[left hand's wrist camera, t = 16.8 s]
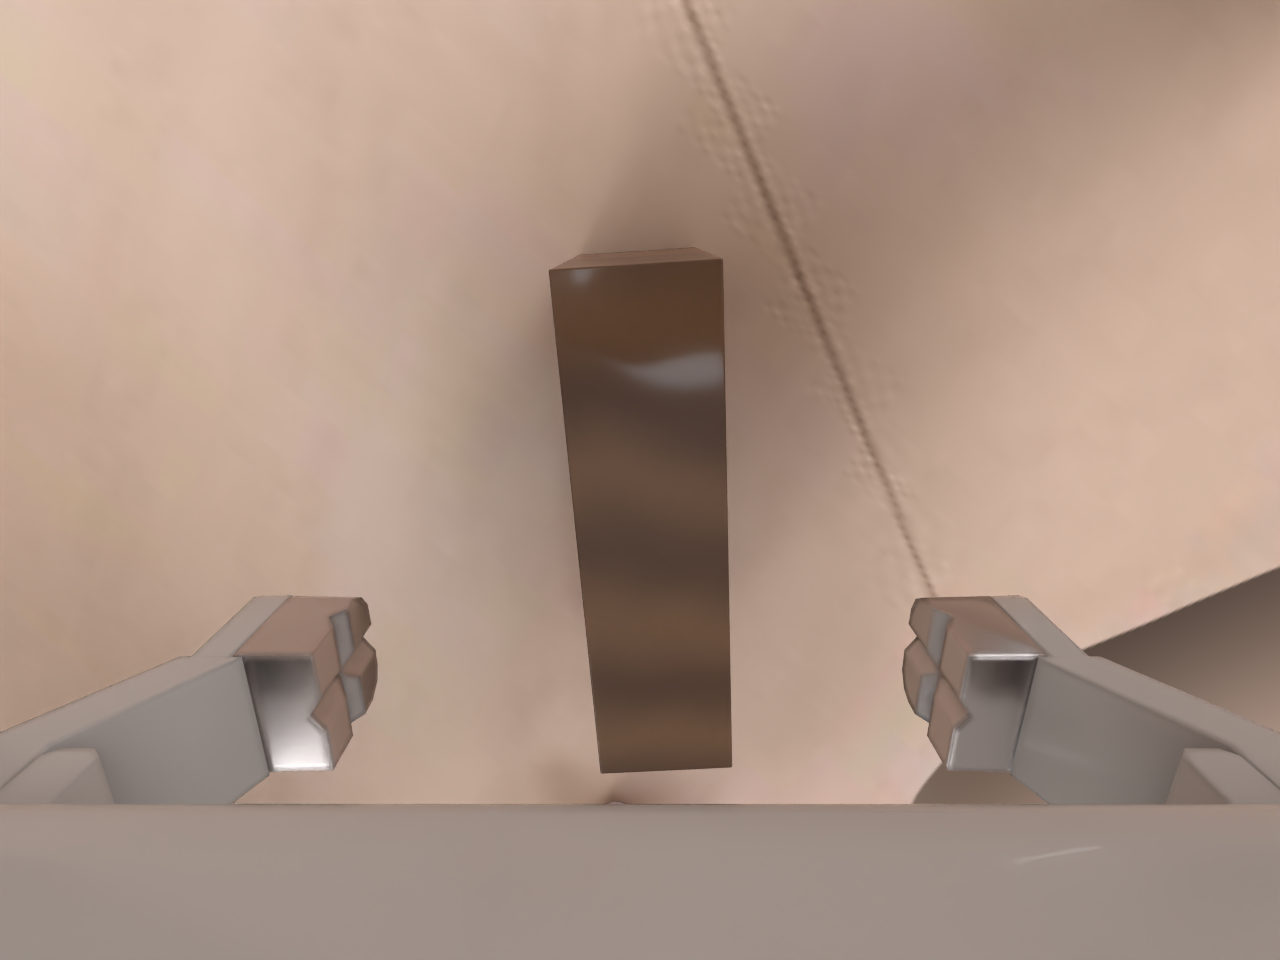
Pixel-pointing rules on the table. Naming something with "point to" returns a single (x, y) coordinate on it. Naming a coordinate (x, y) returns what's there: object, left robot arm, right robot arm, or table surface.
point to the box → (650, 499)
